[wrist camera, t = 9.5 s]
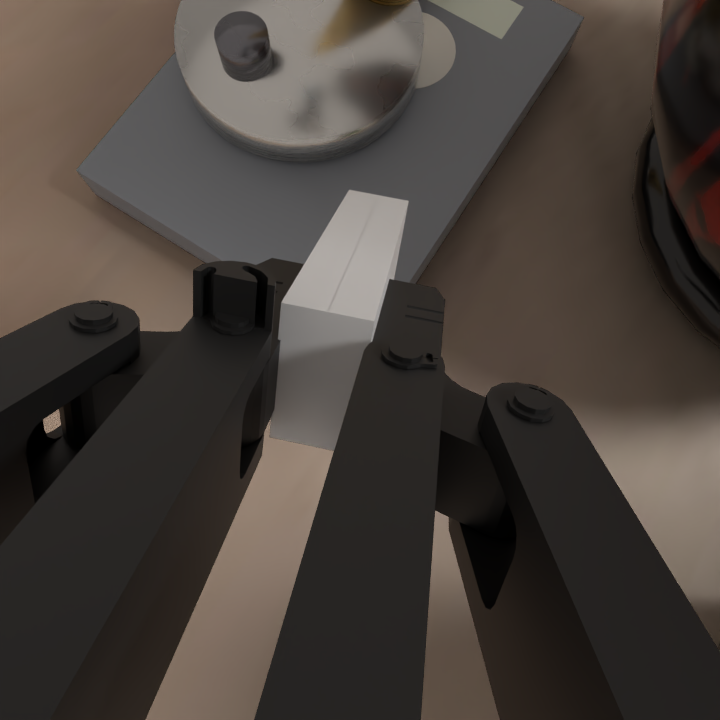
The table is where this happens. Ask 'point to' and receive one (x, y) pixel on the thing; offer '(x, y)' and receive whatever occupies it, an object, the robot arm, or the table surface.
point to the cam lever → (300, 71)
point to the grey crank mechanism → (349, 172)
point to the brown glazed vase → (684, 163)
